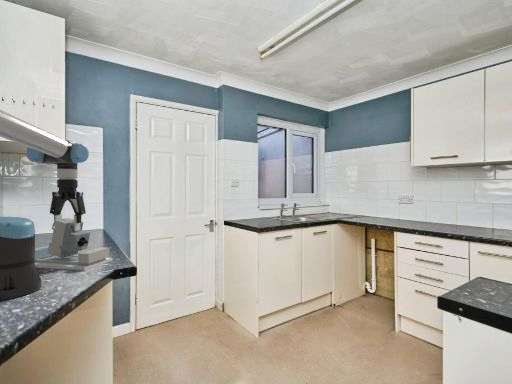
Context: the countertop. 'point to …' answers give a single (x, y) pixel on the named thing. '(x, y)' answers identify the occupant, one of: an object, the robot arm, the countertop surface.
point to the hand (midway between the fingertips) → (67, 230)
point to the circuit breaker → (67, 238)
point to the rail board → (71, 259)
